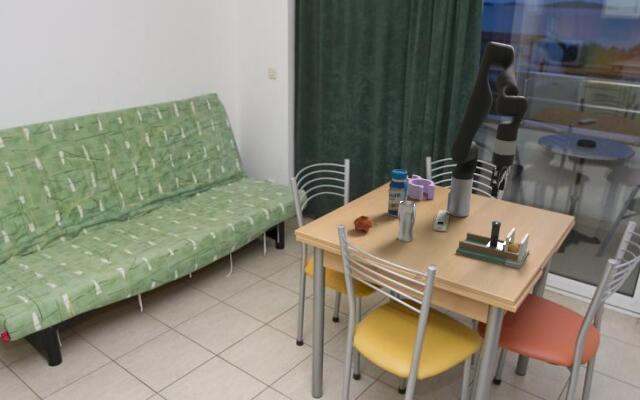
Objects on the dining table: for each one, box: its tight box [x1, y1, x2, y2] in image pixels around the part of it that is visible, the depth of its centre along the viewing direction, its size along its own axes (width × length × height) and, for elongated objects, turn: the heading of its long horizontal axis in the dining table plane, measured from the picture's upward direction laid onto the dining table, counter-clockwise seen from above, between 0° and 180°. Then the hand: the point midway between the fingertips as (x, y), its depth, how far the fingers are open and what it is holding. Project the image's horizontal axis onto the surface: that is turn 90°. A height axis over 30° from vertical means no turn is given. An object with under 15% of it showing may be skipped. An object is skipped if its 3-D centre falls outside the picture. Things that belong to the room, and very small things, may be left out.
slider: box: [486, 220, 511, 250], centre depth 193 cm, size 7×7×10 cm
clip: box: [406, 174, 436, 202], centre depth 258 cm, size 20×12×7 cm, turn 18°
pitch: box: [455, 227, 530, 269], centre depth 194 cm, size 23×16×10 cm
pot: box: [353, 215, 374, 234], centre depth 214 cm, size 8×8×7 cm
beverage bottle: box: [387, 168, 408, 218], centre depth 230 cm, size 8×8×20 cm
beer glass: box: [397, 200, 417, 243], centre depth 205 cm, size 7×7×15 cm
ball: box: [508, 242, 519, 253], centre depth 191 cm, size 4×4×4 cm
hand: (497, 193), depth 194 cm, fingers open, 8 cm apart
